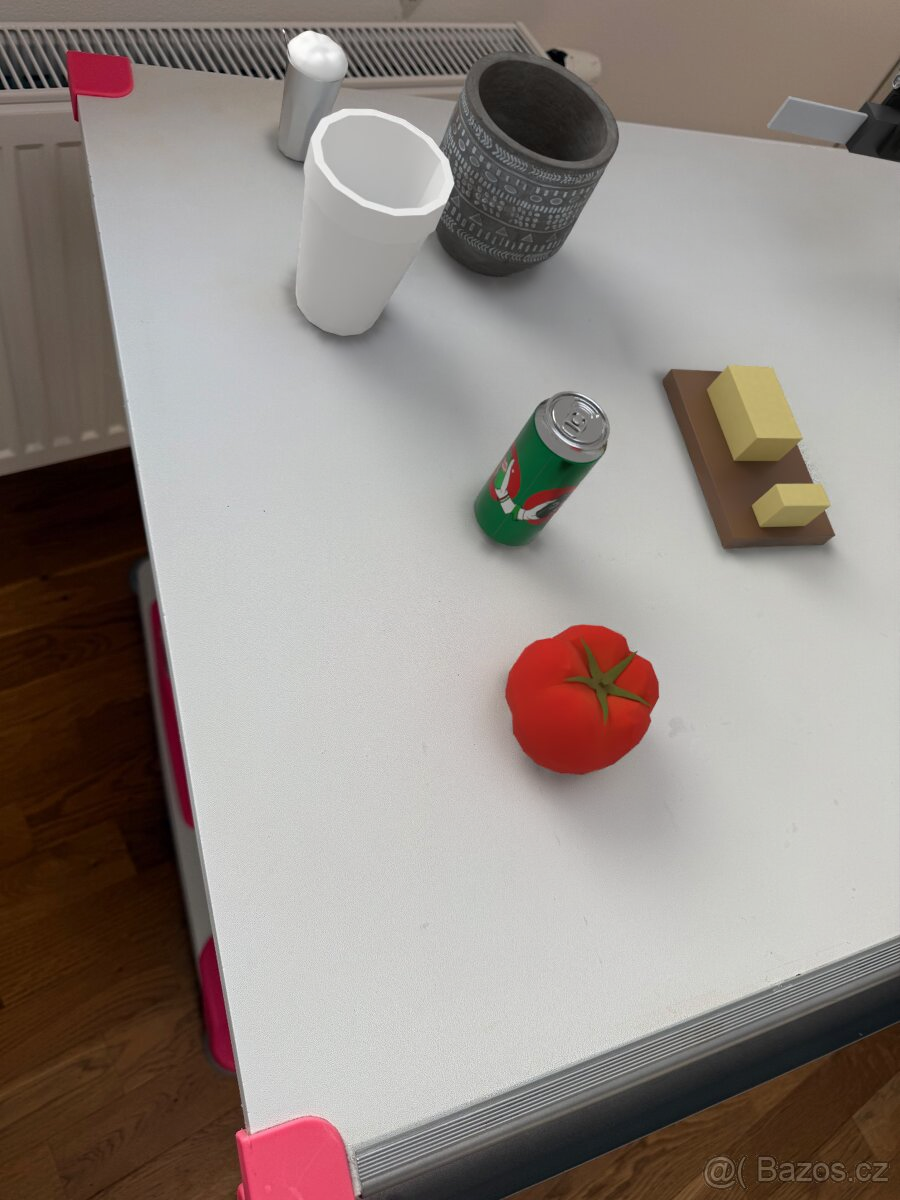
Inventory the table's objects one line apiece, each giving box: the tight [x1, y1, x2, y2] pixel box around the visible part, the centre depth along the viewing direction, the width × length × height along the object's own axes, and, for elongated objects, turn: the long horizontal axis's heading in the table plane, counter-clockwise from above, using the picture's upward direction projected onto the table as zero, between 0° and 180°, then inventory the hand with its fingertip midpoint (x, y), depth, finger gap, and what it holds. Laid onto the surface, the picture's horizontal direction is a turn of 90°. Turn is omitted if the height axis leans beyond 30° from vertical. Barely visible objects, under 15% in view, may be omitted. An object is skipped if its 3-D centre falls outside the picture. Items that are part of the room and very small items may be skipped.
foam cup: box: [295, 108, 454, 337], centre depth 67 cm, size 10×9×13 cm
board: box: [661, 368, 836, 549], centre depth 79 cm, size 10×16×2 cm, turn 13°
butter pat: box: [752, 483, 832, 527], centre depth 75 cm, size 4×2×3 cm, turn 103°
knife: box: [766, 95, 900, 164], centre depth 86 cm, size 17×2×4 cm, turn 104°
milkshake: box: [277, 29, 349, 162], centre depth 74 cm, size 5×5×10 cm
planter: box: [435, 50, 620, 278], centre depth 76 cm, size 12×12×13 cm
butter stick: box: [707, 364, 804, 461], centre depth 78 cm, size 4×7×3 cm, turn 13°
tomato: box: [504, 623, 660, 776], centre depth 60 cm, size 9×9×8 cm
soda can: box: [473, 390, 611, 547], centre depth 64 cm, size 5×5×12 cm
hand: (883, 143), depth 89 cm, fingers closed on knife, 2 cm apart
